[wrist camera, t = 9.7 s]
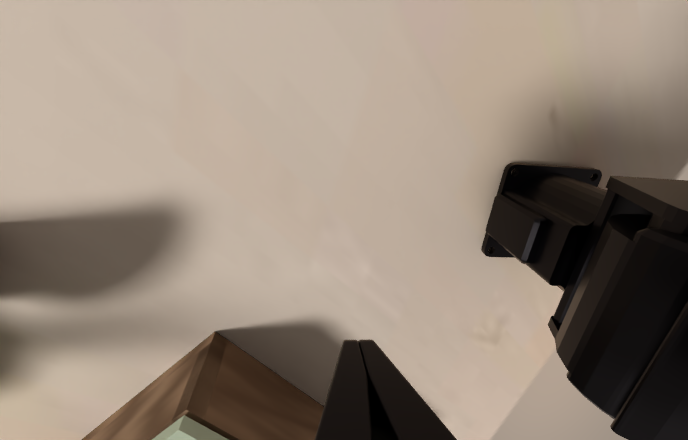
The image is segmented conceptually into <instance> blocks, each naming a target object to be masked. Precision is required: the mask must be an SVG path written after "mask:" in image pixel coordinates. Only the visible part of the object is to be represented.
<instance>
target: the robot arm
mask: <svg viewBox="0 0 688 440" xmlns="http://www.w3.org/2000/svg"><path fill="white" fill-rule="evenodd" d="M513 169H515V172H514V173H513V174H511V171H512V170H513ZM592 175H593V176H592ZM591 176H592V178H591ZM601 176H602V173H601V171H600V170H597V169H594V168H584V167H569V166H554V165H539V164H524V163H510V164H508V165H507V166H506V167H505V169H504V172H503V175H502V179H501V182H500V186H499V189H498V192H497V196H496V197H495V199H494V203H493V206H492V210H491V213H490V217H489V220H488V224H487V227H486V234H485V238H484V241H483V245H482V252H483V253H484V254H485V255H486V256H488V257H515V258H517V259H518V260H519V261H520V262H521V263H523V264H526V265H527V266H529V267H530V268H531V269H532V270H533V271H535V272H536V273H537V274H538V275H539V276H540V277H542V278H543V279H544V280H545V281H546V282H548V283H549V284H550V285H552V286H558V287H559V288H560V289H561V290H563V291H564V293H563V296H562V298H561V300H560V303H559V305H558V307H557V310H556V312H555V314H554V316H551V318H550V321H549V323H548V326H549V328H550V330H551V332H552V334H553V336H554V338H555V343H556V350H557V353H558V355H559V357H560V358H561V360H562V362H563V363H564V365H565V367H566V368H567V370H568V373H567V378H568V379H569V381H570V382H571V383H572V384H573V385H574V386H575V387H576V388H577V389H578V390H579V392H581V394H582V395H583V396H584V397H586V398H587V399H588V400H589V401H590V402H592V403H593V404H594V405H595V406H597V407H598V408H599V409H600V410H602V411H603V412H604V413H606V414H608V415H609V416H610V417H612V418H613V419H614V421H613V423H612V424H611V429H612V430H613V431H614V432H615V433H616V434H618V435H620V436H622V437H624V438H626V439H628V440H688V181H684V180H669V179H653V178H636V177H620V176H610V179H609V181H608V183H607V186H606V188H608V190H607V191H606V190H604V189H601V188H598V184H599V182H600V179H601ZM491 247H492V248H491ZM489 248H491V250H489V251H488V249H489ZM315 440H457V439H456V438H455V437H454V436H453V435H452V433H451V432H450V431H449V430H448V429H447V427H446V426H445V425H444V424H443V423H442V421H441V420H440V419H439V418H438V417H437V416H436V414H435V413H434V412H433V411H432V410H431V408H430V407H429V406H428V405H427V404H426V402H425V401H424V400H423V399H422V398H421V396H420V395H419V394H418V393H417V392H416V391H415V389H414V388H413V387H412V386H411V385H410V383H409V382H408V381H407V380H406V379H405V377H404V376H403V375H402V374H401V373H400V371H399V370H398V369H397V368H396V367H395V366H394V364H393V363H392V362H391V361H390V360H389V358H388V357H387V356H386V355H385V354H384V352H383V351H382V350H381V349H380V348H379V347H378V345H377V344H376V343H375V342H374V341H373V340H359V341H357V340H344V341H343V344H342V347H341V351H340V354H339V357H338V361H337V364H336V368H335V371H334V375H333V378H332V381H331V385H330V388H329V392H328V395H327V399H326V402H325V405H324V409H323V412H322V416H321V419H320V422H319V426H318V429H317V433H316V436H315Z"/></svg>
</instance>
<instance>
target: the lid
mask: <svg viewBox="0 0 688 440" xmlns="http://www.w3.org/2000/svg"><path fill="white" fill-rule="evenodd" d="M152 440H229V439H227V438H225V437H223V436H221V435H219V434H218V433H216V432H214V431H212V430H210V429H209V428H207V427H205V426H203V425H201V424H199V423H198V422H196V421H194V420H192V419H190V418H188V417H187V416H185V415H184V416H182V417H181V418H180V419H178V420H177V421H176V422H174V423H173V424H172V425H170V426H169V427H168V428H166V429H165V430H164V431H162V432H161V433H160V434H159V435H157V436H156V437H155V438H153V439H152Z"/></svg>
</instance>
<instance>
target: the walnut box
mask: <svg viewBox="0 0 688 440" xmlns="http://www.w3.org/2000/svg"><path fill="white" fill-rule="evenodd" d="M323 409H324V407H323V406H322V405H320V404H319V403H318V402H316V401H315V400H313V399H312V398H310V397H309V396H308V395H306V394H305V393H303V392H302V391H300V390H299V389H297V388H296V387H295V386H293V385H292V384H290V383H289V382H287V381H286V380H285V379H283V378H282V377H280V376H279V375H277V374H276V373H274V372H273V371H272V370H270V369H269V368H267V367H266V366H264V365H263V364H262V363H260V362H259V361H257V360H256V359H254V358H253V357H251V356H250V355H249V354H247V353H246V352H244V351H243V350H241V349H240V348H238V347H237V346H236V345H234V344H233V343H231V342H230V341H228V340H227V339H226V338H224V337H223V336H221V335H220V334H218V333H217V332H214V333H213V334H212V335H210V336H209V337H208V338H207V339H205V340H204V341H203V342H202V343H200V344H199V345H198V346H197V347H195V348H194V349H193V350H192V351H191V352H189V353H188V354H187V355H186V356H184V357H183V358H182V359H181V360H179V361H178V362H177V363H176V364H174V365H173V366H172V367H171V368H170V369H168V370H167V371H166V372H165V373H163V374H162V375H161V376H160V377H158V378H157V379H156V380H155V381H153V382H152V383H151V384H150V385H149V386H147V387H146V388H145V389H144V390H142V391H141V392H140V393H139V394H137V395H136V396H135V397H134V398H132V399H131V400H130V401H129V402H128V403H126V404H125V405H124V406H123V407H121V408H120V409H119V410H118V411H116V412H115V413H114V414H113V415H111V416H110V417H109V418H108V419H107V420H105V421H104V422H103V423H102V424H100V425H99V426H98V427H97V428H95V429H94V430H93V431H92V432H91V433H89V434H88V435H87V436H86V437H84V438H83V439H82V440H152V439H153V438H155V437H156V436H157V435H159V434H160V433H161V432H162V431H164V430H165V429H166V428H168V427H169V426H170V425H172V424H173V423H174V422H176V421H177V420H178V419H180V418H181V417H182V416H184V415H185V416H187V417H188V418H190V419H192V420H194V421H196V422H198V423H199V424H201V425H203V426H205V427H207V428H209V429H210V430H212V431H214V432H216V433H218V434H219V435H221V436H223V437H225V438H227V439H229V440H315V436H316V433H317V429H318V426H319V422H320V419H321V416H322V412H323Z"/></svg>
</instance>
